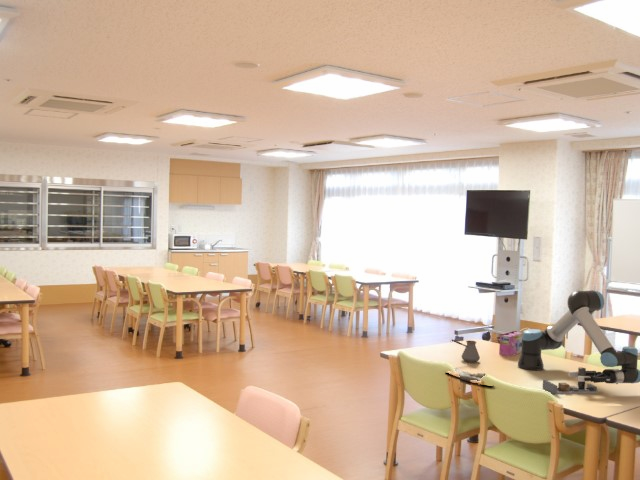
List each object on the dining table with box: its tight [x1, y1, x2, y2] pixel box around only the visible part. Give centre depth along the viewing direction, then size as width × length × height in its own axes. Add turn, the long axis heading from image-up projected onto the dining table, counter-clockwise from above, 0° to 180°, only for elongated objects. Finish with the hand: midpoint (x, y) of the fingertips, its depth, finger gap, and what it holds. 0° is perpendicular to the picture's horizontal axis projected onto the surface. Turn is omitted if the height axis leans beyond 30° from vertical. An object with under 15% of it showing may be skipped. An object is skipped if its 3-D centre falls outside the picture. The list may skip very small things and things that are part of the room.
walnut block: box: [557, 382, 571, 391], centre depth 317 cm, size 4×4×4 cm
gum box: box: [498, 330, 523, 357], centre depth 410 cm, size 24×8×14 cm, turn 136°
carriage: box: [569, 366, 589, 391], centre depth 318 cm, size 9×5×12 cm, turn 98°
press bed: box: [552, 383, 599, 395], centre depth 317 cm, size 26×11×4 cm, turn 98°
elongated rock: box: [454, 368, 487, 383], centre depth 338 cm, size 35×5×10 cm
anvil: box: [542, 379, 558, 395], centre depth 315 cm, size 2×11×4 cm, turn 8°
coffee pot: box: [449, 339, 481, 364], centre depth 380 cm, size 21×12×15 cm, turn 112°
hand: (573, 376), depth 317 cm, fingers open, 8 cm apart
